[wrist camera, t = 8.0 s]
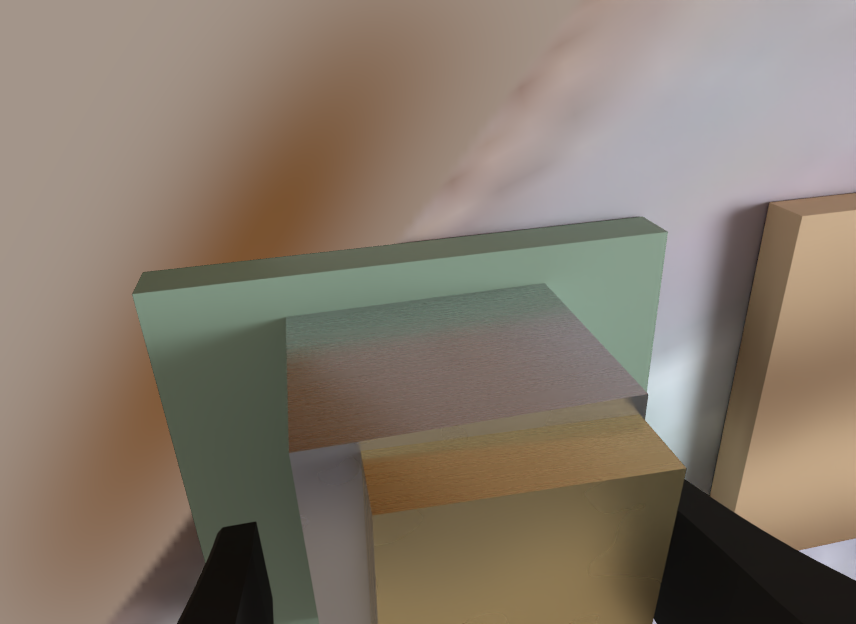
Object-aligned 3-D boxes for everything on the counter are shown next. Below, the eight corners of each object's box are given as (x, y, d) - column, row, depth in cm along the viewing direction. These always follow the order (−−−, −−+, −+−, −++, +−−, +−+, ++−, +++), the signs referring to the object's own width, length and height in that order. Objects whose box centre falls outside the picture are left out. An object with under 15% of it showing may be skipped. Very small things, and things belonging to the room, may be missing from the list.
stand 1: (603, 559, 18) (620, 588, 17) (236, 634, 16) (234, 670, 15) (642, 216, 14) (667, 231, 13) (142, 272, 12) (132, 294, 11)
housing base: (545, 282, 13) (647, 394, 9) (533, 573, 16) (603, 734, 13) (285, 316, 12) (289, 453, 8) (334, 615, 15) (350, 798, 12)
